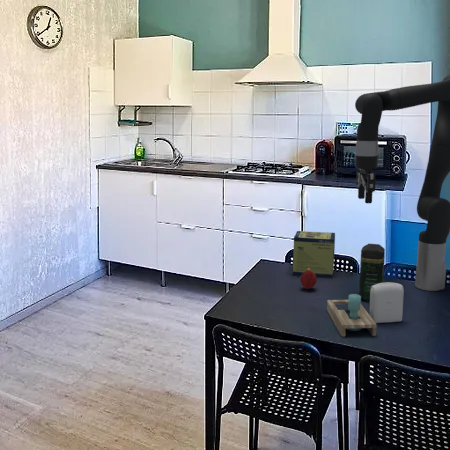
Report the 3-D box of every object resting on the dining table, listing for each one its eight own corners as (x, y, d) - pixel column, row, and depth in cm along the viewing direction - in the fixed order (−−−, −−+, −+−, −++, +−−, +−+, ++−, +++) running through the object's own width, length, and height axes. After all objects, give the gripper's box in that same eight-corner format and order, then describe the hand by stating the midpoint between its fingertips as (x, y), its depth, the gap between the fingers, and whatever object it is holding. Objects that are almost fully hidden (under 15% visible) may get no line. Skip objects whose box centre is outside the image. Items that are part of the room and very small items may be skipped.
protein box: (332, 278, 210) (334, 239, 207) (292, 275, 214) (293, 236, 210) (334, 270, 220) (335, 232, 217) (295, 267, 224) (296, 230, 220)
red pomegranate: (317, 292, 195) (318, 270, 194) (301, 292, 196) (301, 270, 194) (315, 286, 201) (315, 265, 199) (299, 286, 201) (299, 265, 199)
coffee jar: (381, 303, 184) (384, 250, 180) (357, 300, 187) (359, 248, 183) (383, 293, 193) (386, 242, 189) (360, 291, 196) (362, 241, 192)
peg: (359, 323, 168) (361, 292, 166) (364, 330, 163) (365, 299, 161) (342, 324, 168) (343, 293, 166) (346, 331, 163) (348, 299, 161)
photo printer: (371, 324, 168) (373, 286, 165) (366, 318, 172) (368, 281, 169) (404, 322, 169) (406, 284, 166) (398, 317, 173) (400, 279, 170)
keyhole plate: (357, 309, 179) (357, 299, 178) (375, 335, 160) (376, 324, 159) (327, 310, 179) (327, 300, 178) (341, 336, 159) (342, 325, 159)
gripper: (384, 156, 180) (382, 204, 183) (371, 151, 193) (369, 196, 197) (361, 156, 179) (359, 205, 183) (350, 152, 193) (348, 197, 197)
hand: (364, 200), depth 190 cm, fingers open, 8 cm apart
